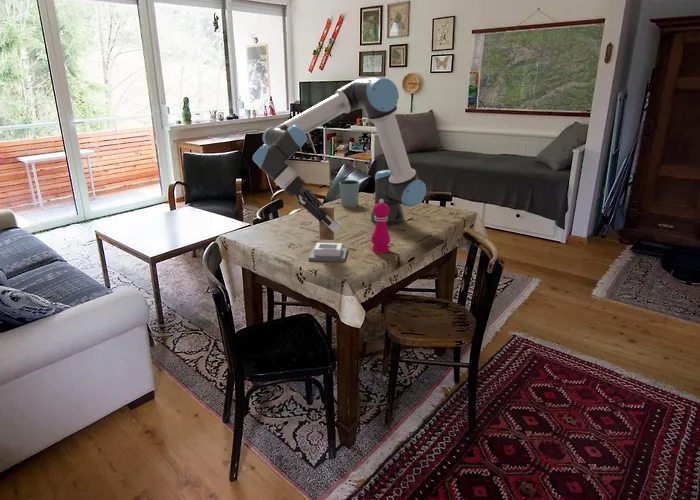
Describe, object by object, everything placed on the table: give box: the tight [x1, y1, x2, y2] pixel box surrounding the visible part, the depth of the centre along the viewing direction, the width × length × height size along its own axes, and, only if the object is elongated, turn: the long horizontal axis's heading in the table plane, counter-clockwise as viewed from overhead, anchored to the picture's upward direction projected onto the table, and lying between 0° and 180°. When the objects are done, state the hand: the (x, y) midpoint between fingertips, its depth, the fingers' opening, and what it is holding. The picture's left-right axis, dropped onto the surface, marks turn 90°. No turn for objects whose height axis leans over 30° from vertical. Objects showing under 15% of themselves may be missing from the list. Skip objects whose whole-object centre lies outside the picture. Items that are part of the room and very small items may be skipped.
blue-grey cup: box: [338, 179, 360, 208], centre depth 237 cm, size 10×10×12 cm
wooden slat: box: [318, 205, 335, 241], centre depth 168 cm, size 5×2×12 cm, turn 85°
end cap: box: [308, 242, 348, 263], centre depth 172 cm, size 13×11×4 cm
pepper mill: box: [370, 199, 391, 254], centre depth 174 cm, size 7×7×20 cm
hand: (337, 228), depth 168 cm, fingers closed on wooden slat, 2 cm apart
